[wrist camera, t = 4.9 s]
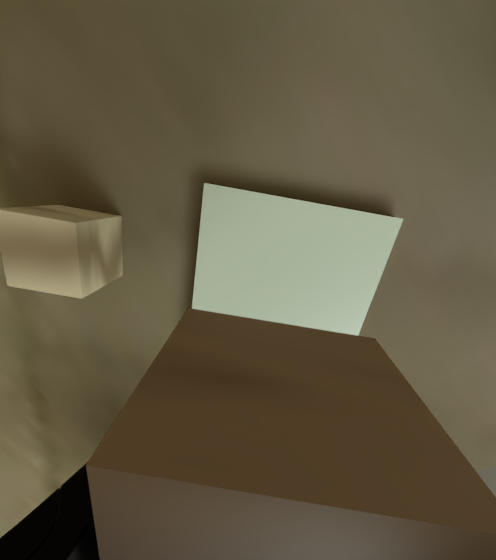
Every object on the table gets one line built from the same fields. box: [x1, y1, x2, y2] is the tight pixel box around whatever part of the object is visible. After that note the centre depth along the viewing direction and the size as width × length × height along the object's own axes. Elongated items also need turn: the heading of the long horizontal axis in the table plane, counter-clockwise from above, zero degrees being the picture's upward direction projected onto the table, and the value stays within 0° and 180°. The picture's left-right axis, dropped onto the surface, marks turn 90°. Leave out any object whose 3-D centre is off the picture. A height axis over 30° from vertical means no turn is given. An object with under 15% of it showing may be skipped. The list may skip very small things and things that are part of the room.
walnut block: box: [86, 308, 496, 560], centre depth 7 cm, size 6×6×5 cm
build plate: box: [192, 183, 403, 336], centre depth 19 cm, size 14×14×1 cm
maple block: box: [0, 205, 123, 299], centre depth 17 cm, size 5×5×5 cm
